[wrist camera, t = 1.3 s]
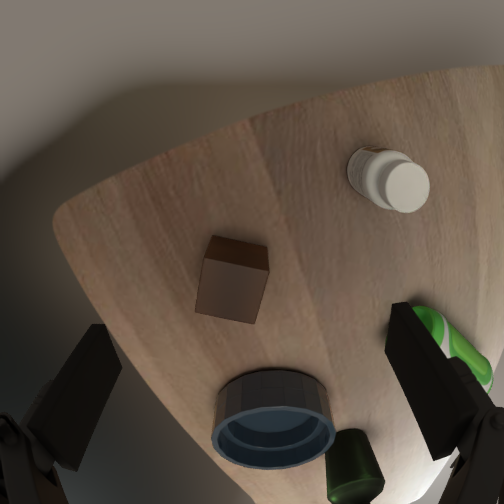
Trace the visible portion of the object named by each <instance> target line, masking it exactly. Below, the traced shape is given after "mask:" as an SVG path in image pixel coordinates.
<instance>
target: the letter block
mask: <svg viewBox="0 0 504 504" xmlns="http://www.w3.org/2000/svg"><path fill="white" fill-rule="evenodd" d="M268 275H269V261H268V250H267V247H264V246H260V245H255V244H250V243H246V242H241V241H237V240H232V239H227V238H223V237H218V236H212V237H211V240H210V243H209V245H208V248H207V250H206V253H205V256H204V259H203V264H202V270H201V276H200V282H199V287H198V293H197V299H196V305H195V312H196V313H201V314H205V315H210V316H215V317H219V318H224V319H229V320H234V321H239V322H244V323H249V324H255V321H256V318H257V314H258V311H259V307H260V304H261V300H262V297H263V293H264V290H265V286H266V282H267V279H268Z"/></svg>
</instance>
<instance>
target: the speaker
mask: <svg viewBox="0 0 504 504" xmlns="http://www.w3.org/2000/svg"><path fill="white" fill-rule="evenodd" d="M412 309H413V310H414V311H415V313H416V314H417V315H418V317H419V318H420V320H421V321H422V322H423V324H424V325H425V327H426V328H427V329H428V331H429V332H430V334H431V335H432V336H433V338H434V339H435V341H436V342H437V344H438V345H439V347H440V348H441V349H442V351H443V352H444V354H445V355H446V357H447V358H451V357H454V356H457V357H459V358H460V359H462V360H463V361H464V362H466V363H467V365H468V366H469V368H470V369H471V370H472V373H474V375H475V376H476V378H477V381H479V382H480V384H481V385H482V387H483V388H484V390H485V391H486V393H487V394H488V393H489V392H490V390H491V387H492V384H493V371H492V367H491V365H490V363H489V361H488V360H487V359H486V358H485V357H484V356H483V355H481V354H480V353H479V352H478V351H477V350H476V349H475V348H474V347H473V346H472V345H471V344H470V343H469V342H468V341H467V340H466V339H465V338H464V337H463V336H462V335H461V334H460V333H459V332H458V331H457V330H456V329H455V328H454V327H453V326H452V325H451V324H450V323H449V322H448V321H447V319H446V318H445V317H444V316H443V315H442V314H441V313H439V312H438V311H436V310H434V309H431V308H428V307H425V306H415V307H412ZM386 340H387V337H386ZM385 345H386V343H385Z"/></svg>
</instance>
